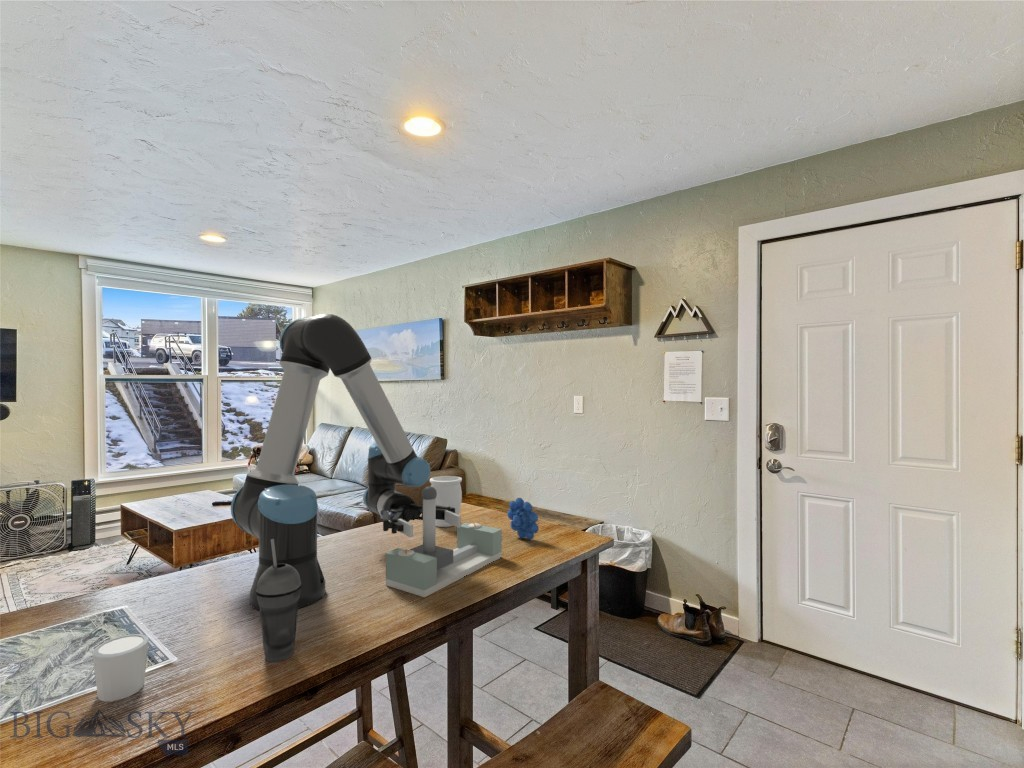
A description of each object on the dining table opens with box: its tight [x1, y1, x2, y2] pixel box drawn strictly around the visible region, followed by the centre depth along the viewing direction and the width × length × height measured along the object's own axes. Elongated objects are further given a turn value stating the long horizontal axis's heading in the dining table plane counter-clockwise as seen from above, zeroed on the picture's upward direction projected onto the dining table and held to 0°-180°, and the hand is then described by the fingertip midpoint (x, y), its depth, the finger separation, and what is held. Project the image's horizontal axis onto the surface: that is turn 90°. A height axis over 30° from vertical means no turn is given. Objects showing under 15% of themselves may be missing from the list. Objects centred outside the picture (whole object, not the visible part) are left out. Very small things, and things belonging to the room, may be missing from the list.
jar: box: [429, 475, 463, 528], centre depth 168 cm, size 11×10×15 cm
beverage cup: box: [256, 539, 302, 663], centre depth 88 cm, size 7×7×20 cm
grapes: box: [506, 497, 539, 540], centre depth 152 cm, size 12×7×12 cm, turn 49°
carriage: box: [409, 485, 453, 570], centre depth 121 cm, size 7×9×18 cm
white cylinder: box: [92, 633, 150, 702], centre depth 78 cm, size 7×7×7 cm
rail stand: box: [385, 522, 503, 598], centre depth 127 cm, size 30×12×8 cm, turn 147°
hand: (436, 526), depth 118 cm, fingers open, 12 cm apart
